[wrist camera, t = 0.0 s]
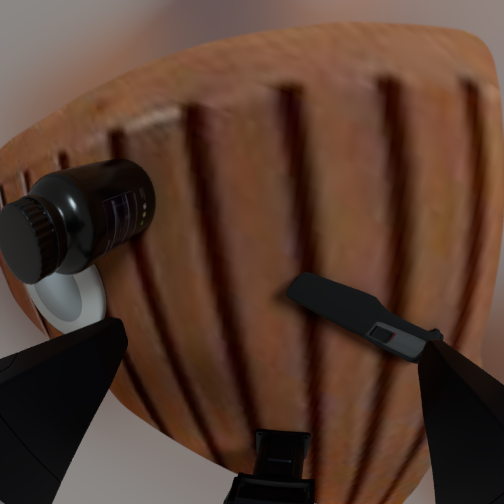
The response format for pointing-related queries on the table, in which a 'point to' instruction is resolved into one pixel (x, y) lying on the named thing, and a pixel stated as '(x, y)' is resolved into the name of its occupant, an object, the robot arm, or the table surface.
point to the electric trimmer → (361, 315)
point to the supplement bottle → (75, 218)
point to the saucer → (70, 299)
